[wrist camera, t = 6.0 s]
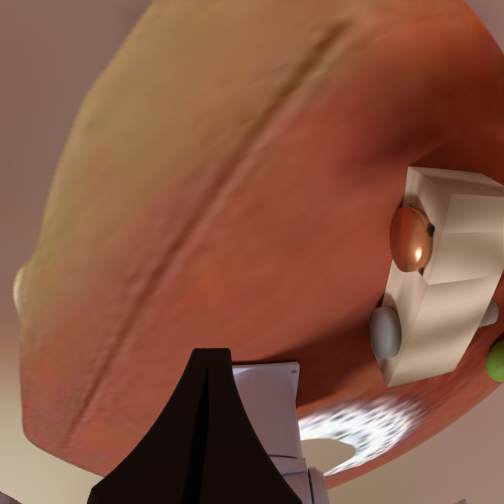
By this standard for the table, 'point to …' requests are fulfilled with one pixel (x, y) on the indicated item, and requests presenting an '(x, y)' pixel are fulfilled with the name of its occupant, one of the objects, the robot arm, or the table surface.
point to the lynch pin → (411, 239)
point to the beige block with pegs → (442, 277)
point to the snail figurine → (496, 362)
